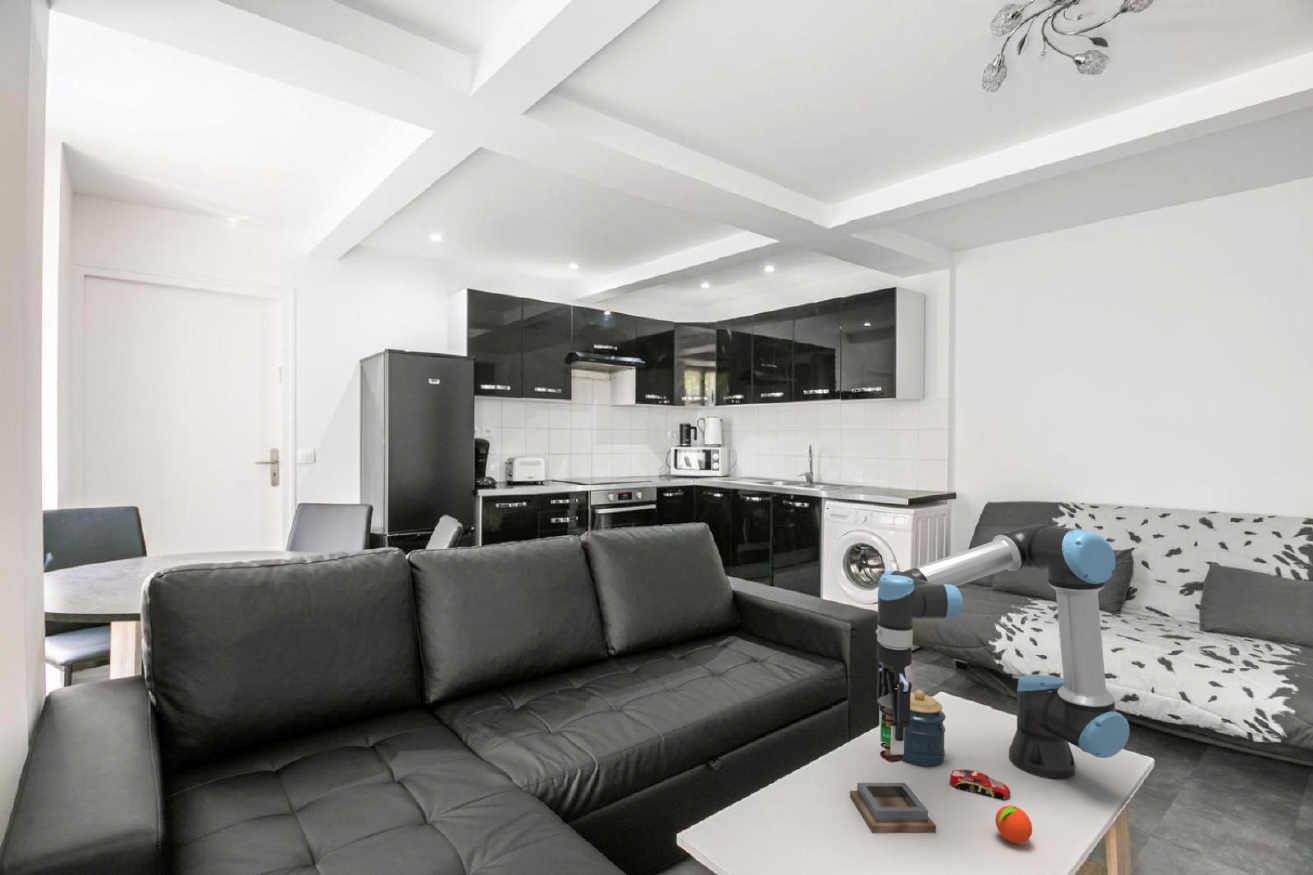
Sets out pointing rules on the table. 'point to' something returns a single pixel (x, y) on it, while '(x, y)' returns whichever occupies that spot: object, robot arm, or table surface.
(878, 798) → the plate
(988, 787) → the race car
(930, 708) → the canister
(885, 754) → the shock absorber
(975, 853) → the table surface
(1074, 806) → the table surface
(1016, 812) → the clementine
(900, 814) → the socket collar
